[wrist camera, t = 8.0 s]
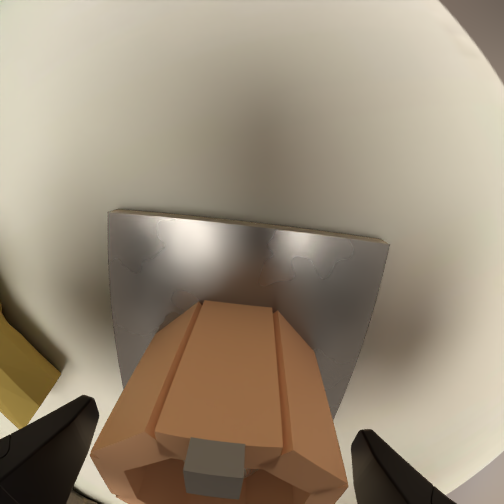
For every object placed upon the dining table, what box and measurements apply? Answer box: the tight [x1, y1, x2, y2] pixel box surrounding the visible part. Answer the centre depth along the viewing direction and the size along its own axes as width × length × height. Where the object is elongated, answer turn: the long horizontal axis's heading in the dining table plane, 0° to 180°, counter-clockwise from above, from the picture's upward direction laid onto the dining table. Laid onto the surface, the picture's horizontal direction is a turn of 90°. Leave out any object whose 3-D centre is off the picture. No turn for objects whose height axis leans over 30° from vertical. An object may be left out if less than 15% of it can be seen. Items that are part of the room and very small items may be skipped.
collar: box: [90, 300, 348, 504], centre depth 8 cm, size 6×6×7 cm
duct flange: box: [108, 209, 390, 479], centre depth 9 cm, size 10×12×6 cm
